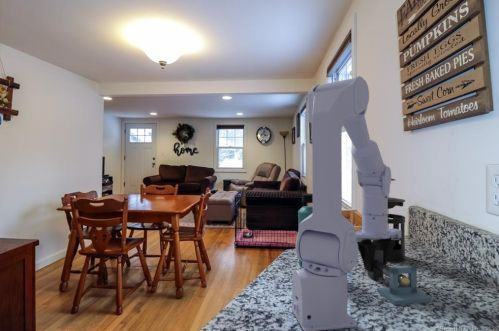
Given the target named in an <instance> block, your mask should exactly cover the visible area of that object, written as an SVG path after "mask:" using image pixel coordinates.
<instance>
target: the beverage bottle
mask: <svg viewBox="0 0 499 331" xmlns="http://www.w3.org/2000/svg"><path fill="white" fill-rule="evenodd" d="M301 196H302V197H301V203H305V204H313V193H303V194H302V195H301ZM297 213H298V214H297V216H298V218H297V219H298V224H297V225H299V224H300V223H301V222H302V221H303V220H304V219H305V218H307V217H308V216H310V215H311V214H312V213H313V205H306V206H304V205H303V206H302V207H301V208H300V209H298V211H297ZM298 265H299V267H300V268H301V269H303V268H304V267H302V261H300V260H299V259H298Z"/></svg>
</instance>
